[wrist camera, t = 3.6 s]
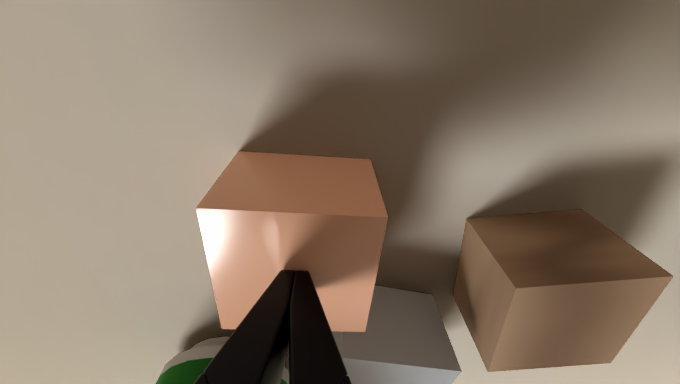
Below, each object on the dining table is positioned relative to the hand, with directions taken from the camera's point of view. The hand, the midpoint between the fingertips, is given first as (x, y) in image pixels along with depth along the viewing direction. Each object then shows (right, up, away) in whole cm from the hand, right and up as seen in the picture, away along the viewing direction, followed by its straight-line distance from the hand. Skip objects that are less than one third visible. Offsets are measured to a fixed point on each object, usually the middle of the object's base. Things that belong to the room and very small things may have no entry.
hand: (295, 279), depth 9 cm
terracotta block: (0, +2, +3) cm, 4 cm away
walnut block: (+10, 0, +5) cm, 11 cm away
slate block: (+3, -4, +7) cm, 9 cm away
